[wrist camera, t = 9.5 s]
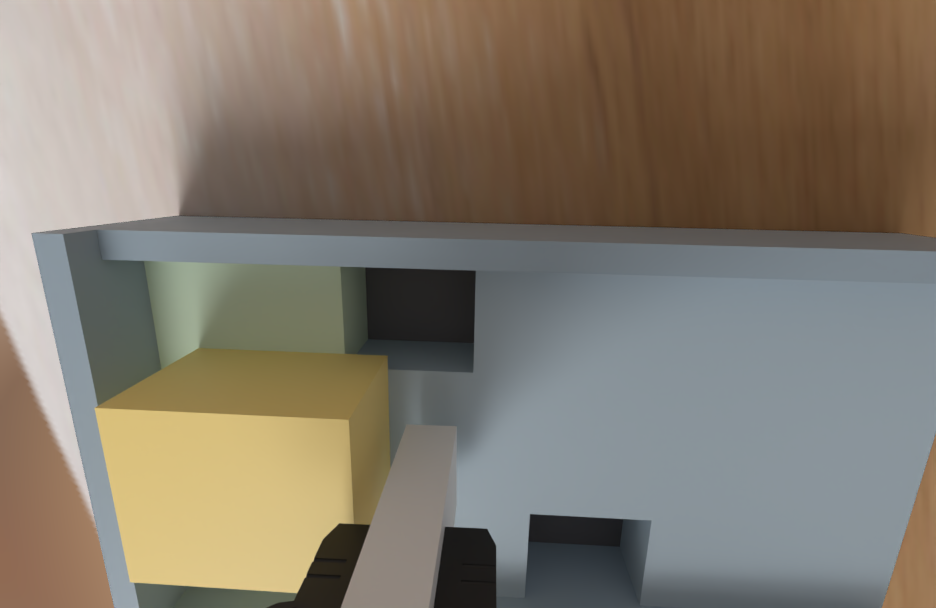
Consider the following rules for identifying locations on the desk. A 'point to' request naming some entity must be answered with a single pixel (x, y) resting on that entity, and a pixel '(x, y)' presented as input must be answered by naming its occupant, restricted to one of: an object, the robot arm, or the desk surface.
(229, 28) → the desk surface
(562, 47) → the desk surface
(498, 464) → the tray
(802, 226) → the desk surface
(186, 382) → the block
